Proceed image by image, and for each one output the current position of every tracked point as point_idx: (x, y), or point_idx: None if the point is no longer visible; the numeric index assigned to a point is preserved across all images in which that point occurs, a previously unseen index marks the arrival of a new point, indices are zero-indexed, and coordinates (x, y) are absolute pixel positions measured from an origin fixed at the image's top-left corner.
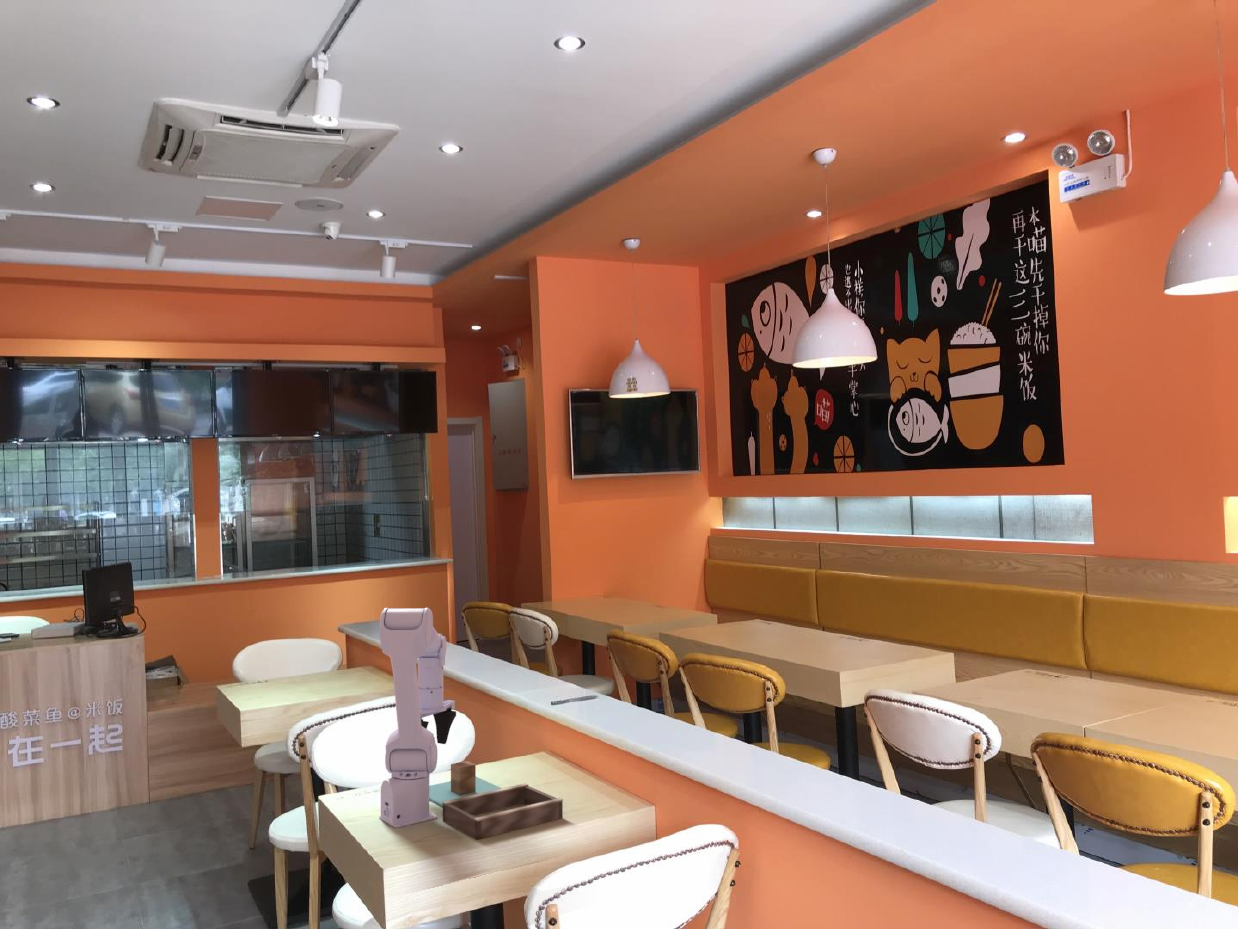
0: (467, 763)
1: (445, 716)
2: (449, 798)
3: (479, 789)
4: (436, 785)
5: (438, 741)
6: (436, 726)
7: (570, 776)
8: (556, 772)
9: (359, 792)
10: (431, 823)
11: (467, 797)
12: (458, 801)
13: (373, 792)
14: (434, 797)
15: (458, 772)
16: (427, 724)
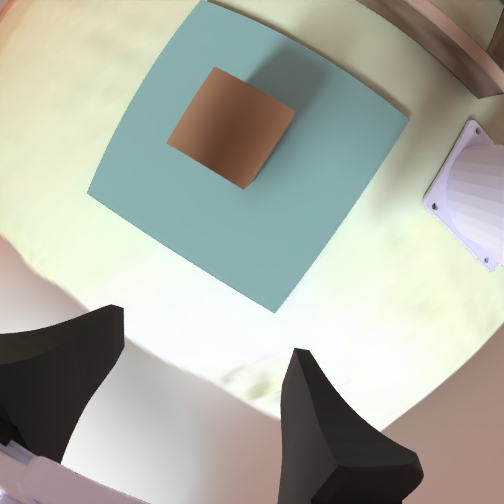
0: (206, 113)
1: (26, 402)
2: (331, 145)
3: None
4: (212, 261)
5: (120, 347)
6: (82, 408)
7: (33, 2)
8: (11, 45)
9: None
10: (490, 125)
11: (454, 27)
12: (481, 50)
13: None
14: (336, 201)
15: (288, 123)
16: (341, 455)
